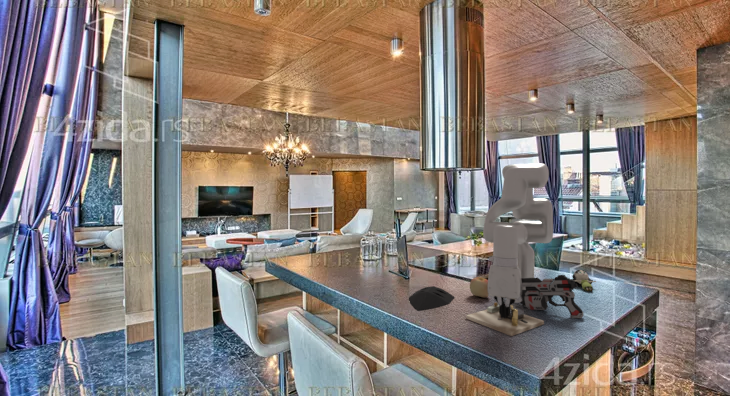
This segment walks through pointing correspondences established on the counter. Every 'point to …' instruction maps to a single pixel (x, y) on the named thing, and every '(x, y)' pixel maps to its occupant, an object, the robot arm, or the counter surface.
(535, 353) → the counter surface
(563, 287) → the toy blaster
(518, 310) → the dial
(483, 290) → the apple
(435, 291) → the mask
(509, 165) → the robot arm
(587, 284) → the toy
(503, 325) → the board
